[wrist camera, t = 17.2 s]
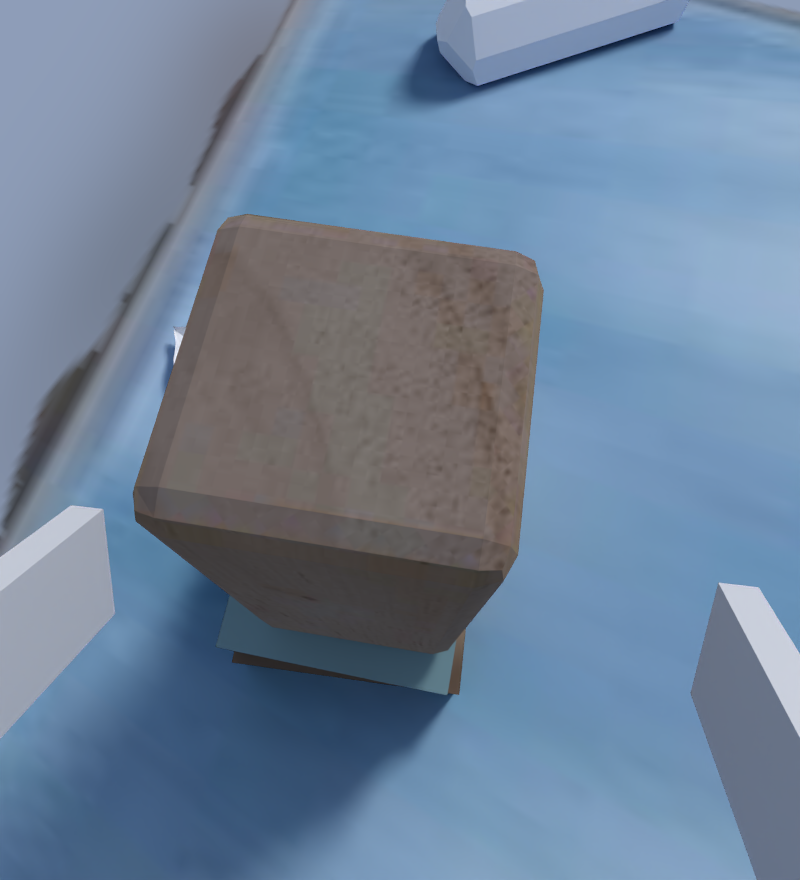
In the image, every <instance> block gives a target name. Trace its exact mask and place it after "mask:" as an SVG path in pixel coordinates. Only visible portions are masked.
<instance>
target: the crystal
mask: <svg viewBox="0 0 800 880" xmlns="http://www.w3.org/2000/svg"><path fill="white" fill-rule="evenodd" d="M663 1H664V2H663ZM660 2H661V3H660ZM688 2H689V0H667V1H666V0H447V1H446V2H445V4H444V6H443V8H442V10H441V12H440V14H439V16H438V19H437V22H436V31H437V42H438V46H439V51H440V53H441V54H442V55H443V57H444V58H445V59H446V60H447V61H448V62H449V63H450V64H451V66H452V67H453V68H454V69H455V70H456V71H457V72H458V73H459V75H460V76H461V77H462V78H463V79H464V80H465V81H467V82H469V83H472V84H474V85H476V86H479V85H482V84H485V83H488V82H491V81H494V80H497V79H501V78H504V77H507V76H510V75H513V74H516V73H519V72H522V71H526V70H529V69H532V68H535V67H538V66H541V65H544V64H547V63H550V62H554V61H557V60H560V59H563V58H566V57H569V56H572V55H575V54H579V53H582V52H585V51H588V50H591V49H594V48H597V47H600V46H603V45H607V44H610V43H613V42H616V41H619V40H622V39H625V38H628V37H632V36H635V35H638V34H641V33H644V32H647V31H650V30H653V29H657V28H660V27H663V26H666V25H669V24H672V23H675V22H678V21H679V20H680V18H681V16H682V14H683V12H684V10H685V8H686V6H687V4H688ZM650 5H651V6H650ZM647 6H648V7H647ZM644 7H645V8H644ZM631 11H632V12H631ZM628 12H629V13H628ZM625 13H626V14H625ZM612 17H613V18H612ZM609 18H610V19H609ZM596 22H597V23H596ZM593 23H594V24H593ZM590 24H591V25H590ZM577 28H578V29H577ZM574 29H575V30H574ZM558 34H559V35H558ZM539 40H540V41H539ZM523 45H524V46H523ZM504 51H505V52H504Z"/></svg>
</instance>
